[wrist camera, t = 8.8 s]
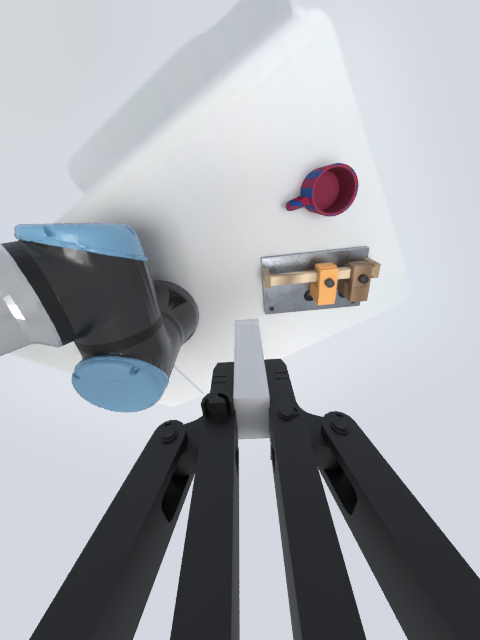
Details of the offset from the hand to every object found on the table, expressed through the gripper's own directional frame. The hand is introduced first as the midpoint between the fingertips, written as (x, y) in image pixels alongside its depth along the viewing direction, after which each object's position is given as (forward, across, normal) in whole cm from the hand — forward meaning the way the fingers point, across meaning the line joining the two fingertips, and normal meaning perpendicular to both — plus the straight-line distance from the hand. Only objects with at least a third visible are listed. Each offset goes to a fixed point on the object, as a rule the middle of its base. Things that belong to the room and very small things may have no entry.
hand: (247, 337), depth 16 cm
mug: (+32, +12, +8) cm, 35 cm away
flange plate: (+32, +14, -8) cm, 36 cm away
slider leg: (+30, +15, -7) cm, 34 cm away
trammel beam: (+31, +14, -8) cm, 34 cm away
